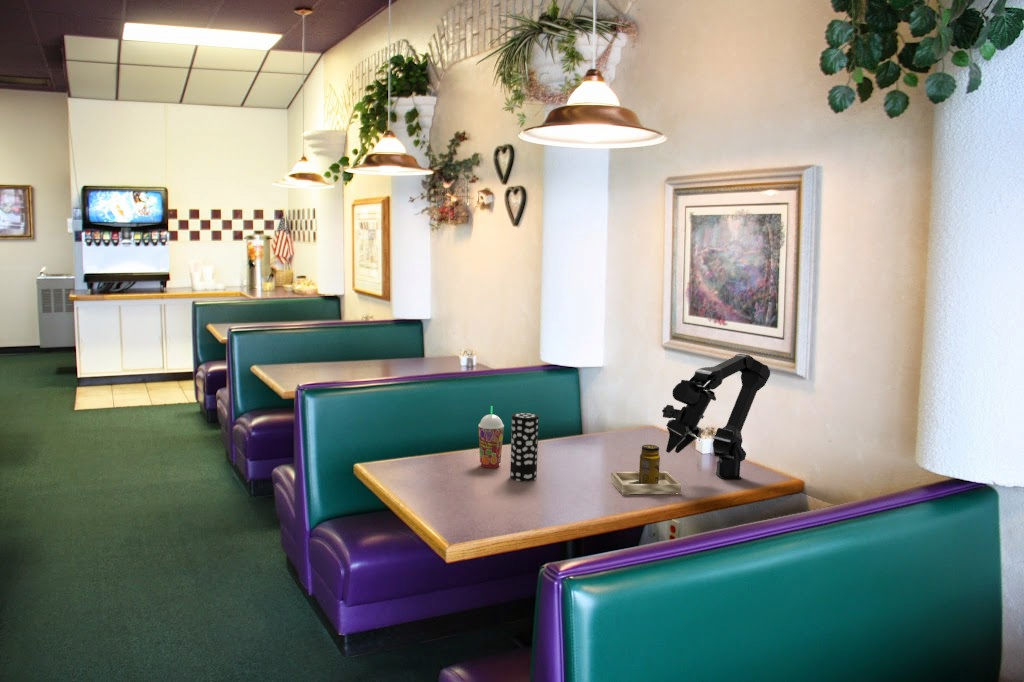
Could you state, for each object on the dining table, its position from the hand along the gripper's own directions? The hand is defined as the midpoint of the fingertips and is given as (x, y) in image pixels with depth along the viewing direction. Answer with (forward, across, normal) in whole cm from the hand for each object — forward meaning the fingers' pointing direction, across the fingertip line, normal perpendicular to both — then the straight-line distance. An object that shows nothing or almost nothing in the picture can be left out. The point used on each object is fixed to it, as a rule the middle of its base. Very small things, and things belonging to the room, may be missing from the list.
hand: (671, 452), depth 269 cm
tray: (+13, +6, 0) cm, 14 cm away
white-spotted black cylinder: (+29, +17, -33) cm, 47 cm away
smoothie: (+33, +11, -48) cm, 59 cm away
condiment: (+12, +6, -1) cm, 13 cm away
